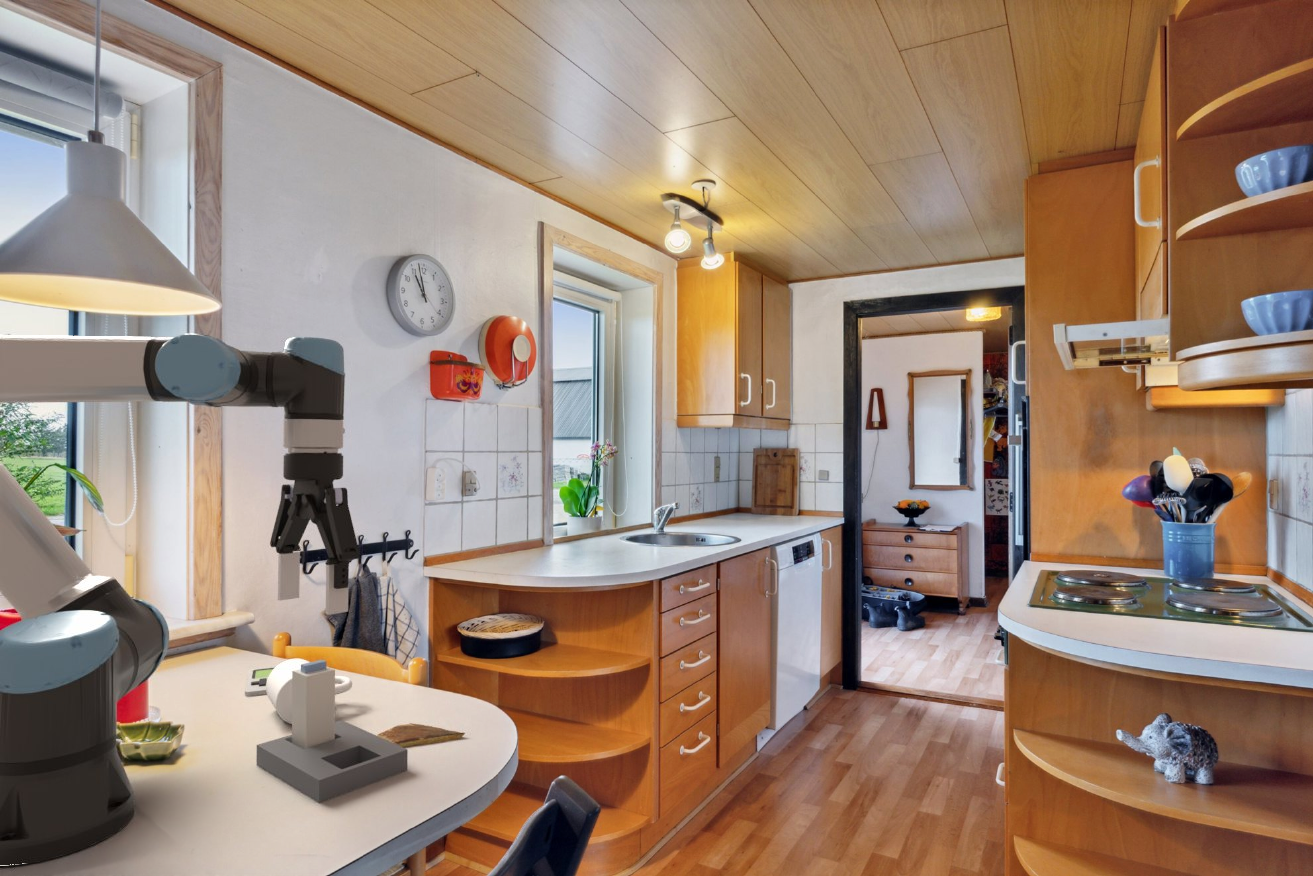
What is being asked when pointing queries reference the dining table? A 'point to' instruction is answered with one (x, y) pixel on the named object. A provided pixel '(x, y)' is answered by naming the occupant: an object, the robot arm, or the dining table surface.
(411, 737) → the shard
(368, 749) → the panel
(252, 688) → the handheld gaming console
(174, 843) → the dining table surface
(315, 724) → the plug
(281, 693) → the mug
